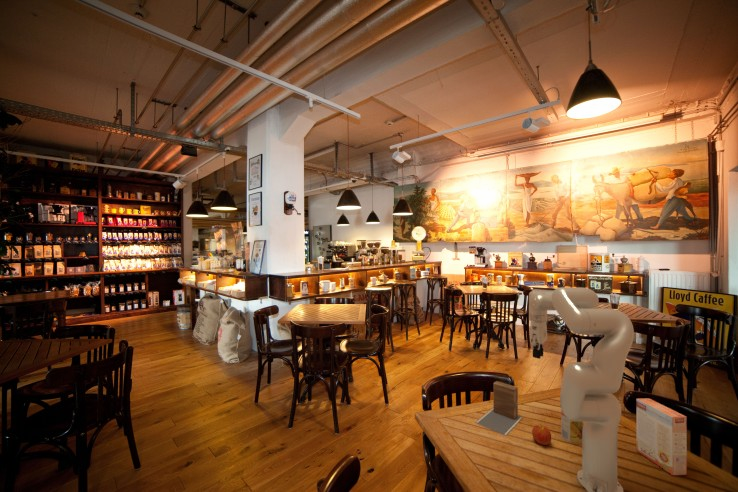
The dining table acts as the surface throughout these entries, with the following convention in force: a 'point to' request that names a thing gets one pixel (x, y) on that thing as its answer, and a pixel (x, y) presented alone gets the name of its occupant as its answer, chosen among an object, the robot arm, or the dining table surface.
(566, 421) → the canned food
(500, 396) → the plaque
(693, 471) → the dining table surface
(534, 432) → the fruit
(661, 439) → the cracker box
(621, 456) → the dining table surface
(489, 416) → the mat
